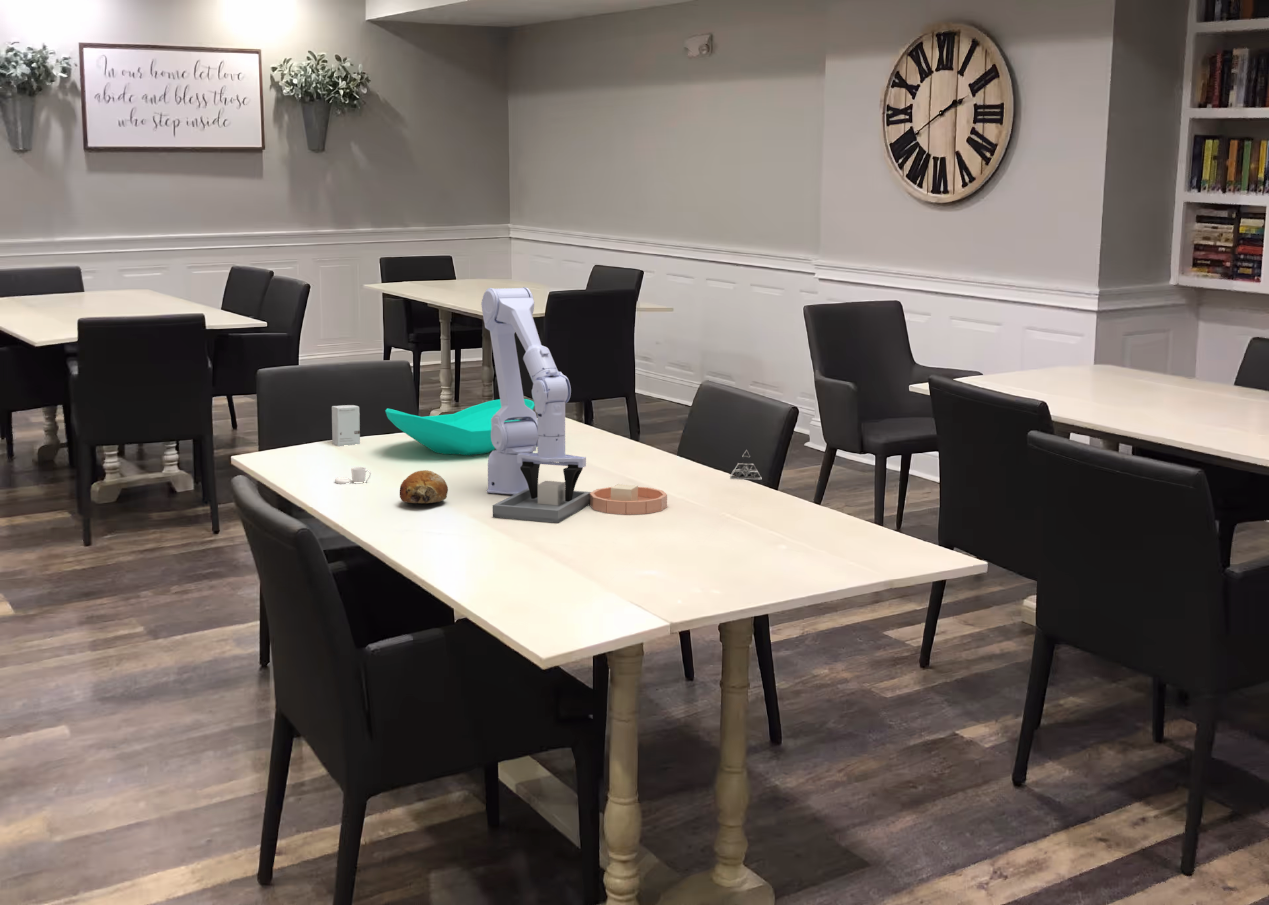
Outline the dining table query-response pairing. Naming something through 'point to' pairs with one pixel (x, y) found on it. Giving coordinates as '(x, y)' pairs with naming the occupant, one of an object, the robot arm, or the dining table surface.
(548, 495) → the greyish beige cube
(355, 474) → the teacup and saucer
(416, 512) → the dining table surface
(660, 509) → the bowl
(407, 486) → the bread roll
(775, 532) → the dining table surface
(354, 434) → the skincare box
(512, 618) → the dining table surface
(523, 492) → the parts tray
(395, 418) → the table top decor
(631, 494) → the cream matte cube
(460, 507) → the dining table surface
